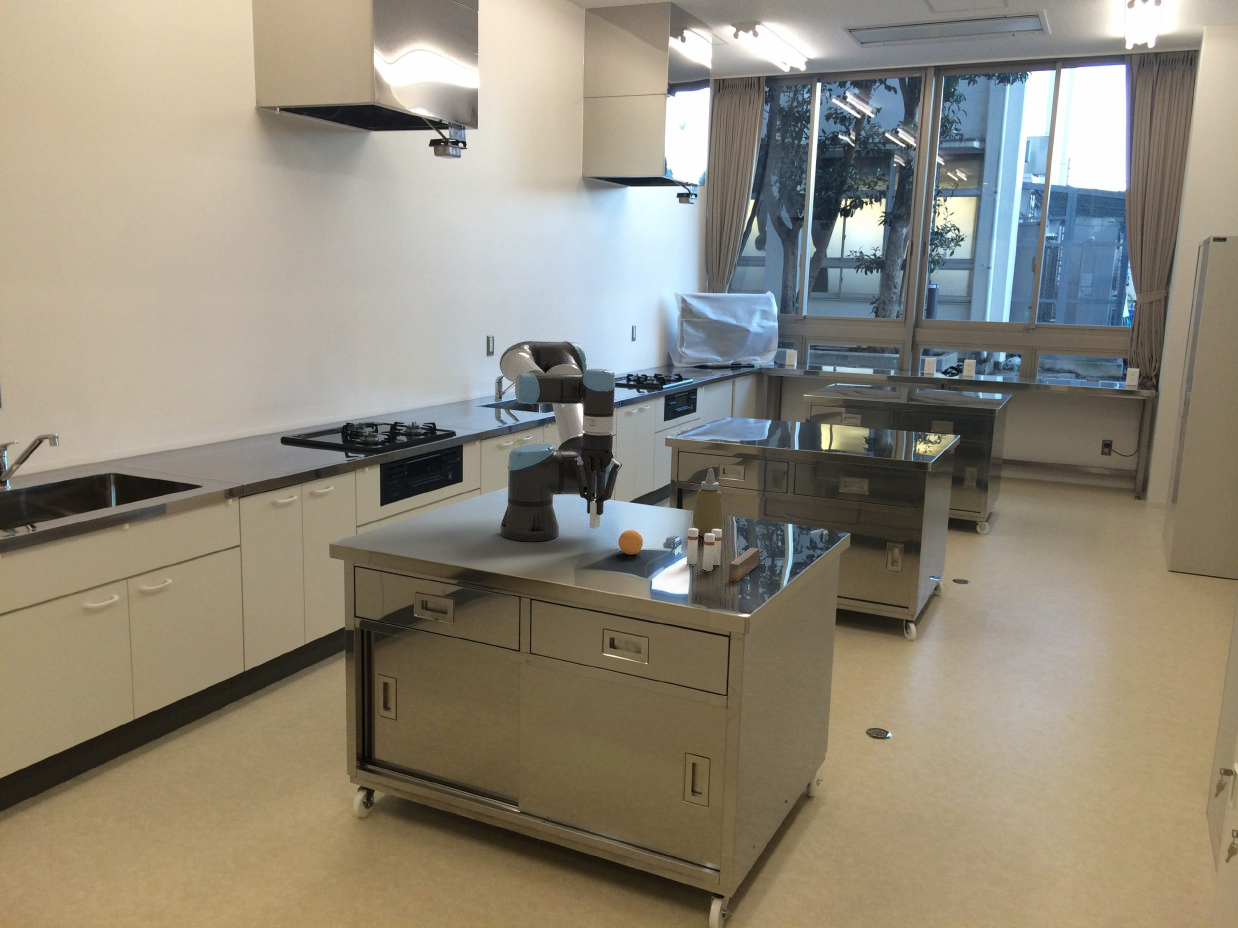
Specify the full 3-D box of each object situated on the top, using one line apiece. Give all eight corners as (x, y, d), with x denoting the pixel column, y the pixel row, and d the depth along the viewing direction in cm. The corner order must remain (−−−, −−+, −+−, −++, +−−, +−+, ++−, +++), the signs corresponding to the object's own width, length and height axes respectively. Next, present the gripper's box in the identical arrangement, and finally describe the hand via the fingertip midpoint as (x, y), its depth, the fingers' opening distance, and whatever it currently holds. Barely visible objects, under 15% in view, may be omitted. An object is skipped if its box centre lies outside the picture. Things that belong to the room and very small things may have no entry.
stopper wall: (728, 580, 221) (729, 563, 220) (749, 563, 235) (750, 547, 234) (737, 581, 220) (738, 564, 219) (757, 564, 234) (758, 548, 234)
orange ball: (613, 555, 238) (614, 531, 237) (624, 549, 243) (625, 526, 242) (636, 558, 235) (637, 534, 234) (646, 553, 241) (647, 529, 240)
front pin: (684, 564, 232) (686, 529, 231) (688, 561, 234) (690, 527, 233) (694, 566, 231) (696, 531, 230) (698, 563, 233) (700, 529, 232)
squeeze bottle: (720, 540, 256) (724, 473, 252) (690, 537, 257) (693, 470, 254) (723, 533, 263) (727, 467, 260) (694, 530, 265) (697, 465, 262)
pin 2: (708, 565, 232) (710, 530, 231) (711, 562, 235) (713, 528, 233) (718, 566, 231) (720, 531, 230) (721, 564, 234) (723, 529, 232)
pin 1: (700, 570, 228) (702, 534, 226) (704, 567, 230) (706, 532, 229) (711, 571, 227) (713, 536, 225) (714, 569, 229) (716, 534, 228)
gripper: (566, 432, 237) (564, 526, 241) (615, 437, 232) (612, 533, 236) (580, 428, 244) (578, 520, 248) (628, 433, 239) (624, 527, 243)
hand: (594, 526), depth 242 cm, fingers closed
